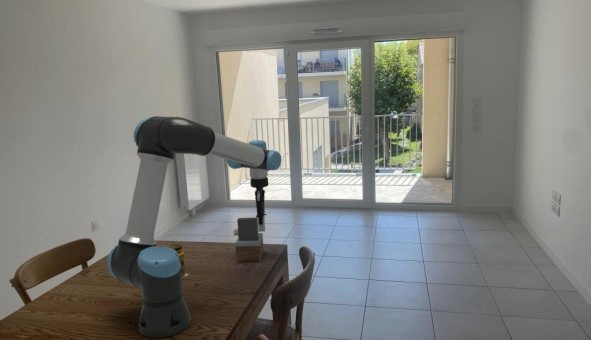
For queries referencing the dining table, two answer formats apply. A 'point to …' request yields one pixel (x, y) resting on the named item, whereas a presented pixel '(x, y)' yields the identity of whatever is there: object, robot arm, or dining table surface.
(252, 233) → the grey slotted stand
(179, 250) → the condiment
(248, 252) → the open wooden box
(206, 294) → the dining table surface
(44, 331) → the dining table surface
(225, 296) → the dining table surface
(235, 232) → the key
